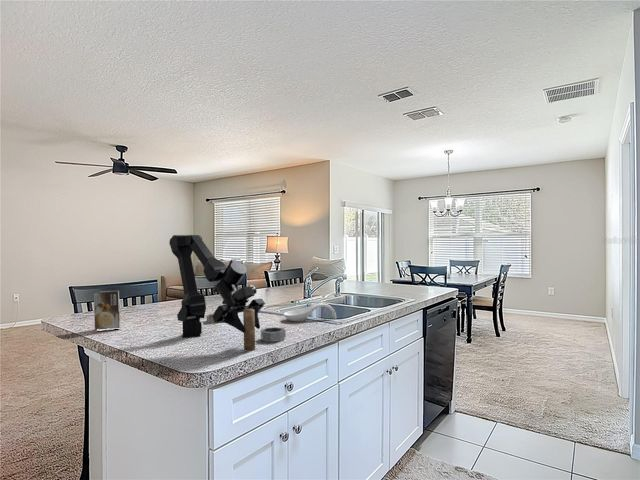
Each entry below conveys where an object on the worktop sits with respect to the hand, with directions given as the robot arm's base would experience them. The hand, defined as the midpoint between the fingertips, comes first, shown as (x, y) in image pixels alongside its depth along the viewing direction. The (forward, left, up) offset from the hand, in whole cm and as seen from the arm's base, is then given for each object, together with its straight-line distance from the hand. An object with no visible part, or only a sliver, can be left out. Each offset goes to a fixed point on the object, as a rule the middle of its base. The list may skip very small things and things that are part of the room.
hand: (252, 329), depth 123 cm
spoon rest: (+32, +39, -7) cm, 51 cm away
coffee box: (-52, +54, -7) cm, 75 cm away
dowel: (-1, +1, -7) cm, 7 cm away
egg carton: (-7, +53, -7) cm, 54 cm away
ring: (+9, +11, -7) cm, 16 cm away
